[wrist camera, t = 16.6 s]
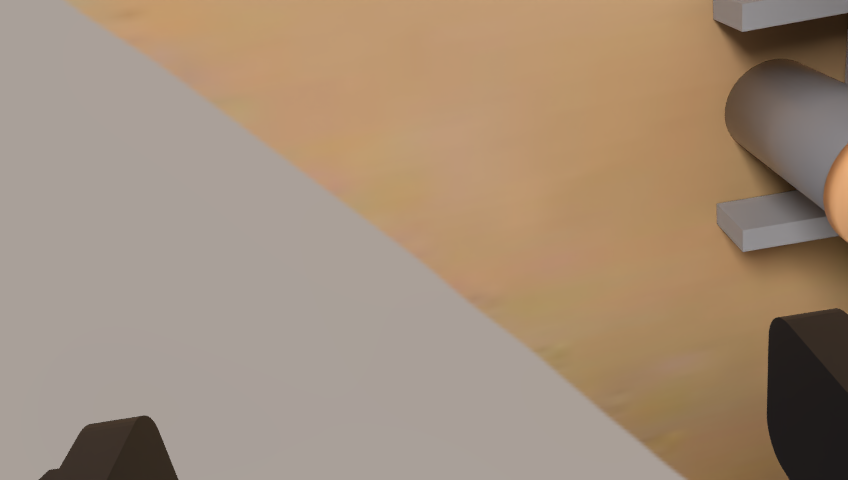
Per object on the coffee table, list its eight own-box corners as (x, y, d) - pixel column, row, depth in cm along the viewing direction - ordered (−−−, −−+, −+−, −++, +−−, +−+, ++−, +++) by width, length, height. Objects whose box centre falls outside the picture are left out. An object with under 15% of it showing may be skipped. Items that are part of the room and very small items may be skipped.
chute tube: (716, 61, 38) (840, 133, 27) (830, 41, 38) (1001, 105, 27) (717, 167, 41) (832, 271, 30) (825, 148, 40) (981, 247, 29)
